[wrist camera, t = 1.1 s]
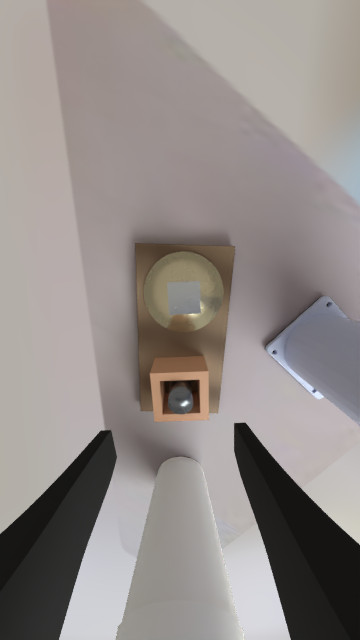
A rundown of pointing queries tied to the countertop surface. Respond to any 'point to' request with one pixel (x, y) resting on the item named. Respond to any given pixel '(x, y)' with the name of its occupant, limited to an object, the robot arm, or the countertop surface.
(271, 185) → the countertop surface
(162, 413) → the collar
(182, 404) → the stand rod
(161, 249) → the jig board
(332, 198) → the countertop surface
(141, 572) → the foam cup
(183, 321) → the hub
